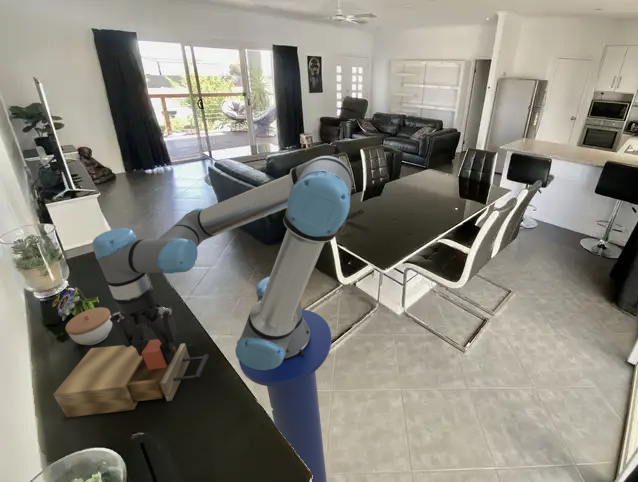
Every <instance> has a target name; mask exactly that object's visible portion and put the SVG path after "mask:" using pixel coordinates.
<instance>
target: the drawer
mask: <svg viewBox="0 0 638 482" xmlns="http://www.w3.org/2000/svg"><path fill="white" fill-rule="evenodd" d="M172 352H173V355H174V356H173V358H172V360H171V362H170V364H169V365H166V367H165V368H159V369H149V370H148V368H147V367H146V365H145V363H144V360H142V362H141V363H140V365H139V366H138V368H137V370H136V371H135V373H134V374H133V376H132V378H131V379H130V381H129V383H128V384H127V389H128V391H129V393H130V395H131V397H132V400H133V402H135V401H139V402H143V401H144V402H145V401H151V400H160V399H163V398H165V400H166V402H170V401H173V399H174V396H175V395H176V392H177V390H178V388H179V386H180V384H181V382H182V381H186V380H195V381H199V380H200V379H201V377H202V374H203V372H204V370H205V368H206V365H207V363H208V360H209V358H210V356H209V354H203V356H195V357H194V356H193V357H190V355H189V351H188V349H187V345H186V343H184V342H183V343H180V344H179V346H178V348H177V349H176V346H174V348H173V350H172ZM191 361H192V362H194V361H200V363H199V364H198V367H197V370H196V371H195V374H194V375H186V376H185V373H186V371H187V369H188V367H189V364H190V362H191Z"/></svg>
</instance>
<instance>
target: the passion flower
mask: <svg viewBox="0 0 638 482" xmlns="http://www.w3.org/2000/svg"><path fill="white" fill-rule="evenodd" d="M61 296H62V298H60V294H58V295H57V296H56V298H55V299H54V300H53V302H52V305H51V308H52V309H53V308H55V307H56V306H57V307H56V310H57V311H58V312H57V316H59V317H62V319H61V320H62V322H65V321H66V320H67V319H68V317H69V316H70V315H72V316H74V317H75V316H76V315H78V314H80V313H82V312H84V311H87V310H89V309H93V308H95V305H94V303H97V304H100V299H99V296H93V297H91V298H86V297H85V295H84V294H83V292H82V291H81V289H80V288H78V287H74V289H70V290H67V291H66V292H65V293H64V294H62V295H61ZM77 304H78V305H77Z"/></svg>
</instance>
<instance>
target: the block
mask: <svg viewBox="0 0 638 482" xmlns="http://www.w3.org/2000/svg"><path fill="white" fill-rule="evenodd" d="M160 345H161V342H160V341H159V339H158V338H157V339H150V340H149V341H148V344H147V345H146V347H145V348H144V350H143V351H142V356H143V358H144V361H145V363H146V366H147V368H148V370H149V369H159V368H165V367H166V363H165V360H164V357H163V354H162V352H161V349H160Z"/></svg>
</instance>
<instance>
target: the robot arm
mask: <svg viewBox="0 0 638 482" xmlns="http://www.w3.org/2000/svg"><path fill="white" fill-rule="evenodd" d="M352 188H353V175H352V172H351V170H350V168H349V166H347V164H346V163H345V161H343V160H341V159H339V158H338V157H336V156H332V155H321V156H318V157H315V158H312V159H310V160H308V161H306V162H304V163H301V164H300V165H297V166H295V167H292V168H291V169H290V171H289V174H286V175H284V176H281V177H279V178H276V179H274V180H272V181H269V182H267V183H264V184H261V185H259V186H257V187H255V188H252V189H249V190H247V191H244V192H242V193H240V194H237V195H235V196H232V197H229V198H228V199H225V200H222V201H221V202H220V201H219V202H218V203H214V204H213V205H210V206H208V207H205V208H203V207H202V208H197V207H196V208H195V209H192V210H191V211H189V212H187V213H185V214H184V215H183V217H182V218H180V219H179V220H178V221H177V222H176V223H175V224H174V225H173V226H171V227H170V228H169V229H168V230H167V231H165V232H164V233H163V234H162V235H161V236H159V237H158V238H146V239H145V238H138V239H137V235H136V234H135V232H134V231H133V230H132V229H130V228H128V227H119V228H114V229H109V230H107V231H104V232H102V233H100V234H98V235H97V236H96V237H95V238H93V240H92V248H93V251H94V255H95V259H96V260H97V262H98V265H99V266H100V269H101V271H102V273H103V276H104V277H105V280H106V284H107V285H108V289H109V290H110V293H111V297H112V298H113V299H114V302H115V305H116V307H117V310H116V311H115V312H114V313H112V314H111V318H110V321H111V322H112V325H114V327H115V328H116V330H117V332H118V334H119V336H120V340H121V341H122V343H123V345H125V347H130V346H133V347H134V348H136V350H137V353H138V355H139V356H142V351H143V350H144V348H145V347H146V345H147V344H148V342H149V341H148V340H147V339H146V337H145V336H144V328H143V324H145V325H146V326H147V328H150V329H151V331H152V332H153V333H154V335H155V336H156V338H157V339H159V341H160V342H161V345H160V349H161V352H162V354H163V357H164V360H165V363H166V365H169V364H170V362H171V360H172V358H173V356H174V355H173V352H172V350H173V348H174V347H175V346H174V344H173V343H174V342H175V341H176V339H177V337H178V335H179V332H178V330H177V326H176V323H175V319H174V316H173V310H174V307H173V306H172V305H168V306H167V307H163V306H161V304H160V303H158V301H157V295H156V292H155V289H154V287H153V284H152V281H151V277H150V275H149V274H175V273H186V272H189V271H191V270H192V269H193V268H194V266H195V265H196V261H197V259H198V253H199V252H198V247H199V246H200V245H201V243H203V242H204V241H206V240H209V239H210V238H213V237H215V236H216V237H217V236H218V235H220V234H223V233H225V232H228V231H231V230H234V229H236V228H238V227H241V226H244V225H246V224H249V223H251V222H255V221H257V220H259V219H262V218H265V217H268V216H269V215H273V214H275V213H277V212H280V211H283V210H285V209H286V210H285V213H284V216H283V224H284V226H285V228H286V231H285V234H284V236H283V240H282V242H281V245H280V248H279V251H278V254H277V256H276V259H275V261H274V264H273V267H272V270H271V273H270V275H269V276H267V277H265V278H263V279H262V280H260V281H259V282H258V283H257V285H256V291H255V293H256V296H257V301H256V302H255V303H254V304H253V306H252V307H251V309H250V311H249V314H248V316H247V320H246V323H245V325H244V328H243V331H242V333H241V335H240V338H239V339H238V340H237V341H236V347H235V356H236V358H237V360H238V361H239V360H240V361H241V362H242V363H243V364H244V365H246V366H248V367H250V368H253V369H257V370H268V369H274V368H276V367H278V366H279V365H280V364H281V363H282V361H286V360H290V359H293V358H295V357H297V356H298V355H300V354H301V355H302V357H303V356H304V355H305V354H304V353H303V352H304V351H305V349H306V348H307V347H308V345H309V343H310V338H311V336H310V329H309V327H308V325H307V323H306V322H305V320H304V318H303V317H302V301H301V299H302V297H303V294H304V292H305V290H306V287H307V285H308V283H309V280H310V278H311V275H312V273H313V271H314V269H315V266H316V264H317V262H318V259H319V257H320V255H321V252H322V250H323V247H324V245H325V244H326V243H329V242H330V241H333V240H334V239H335V238H336V235H337V233H338V231H339V229H340V227H342V225H343V224H344V222H345V221H346V220H347V217H348V215H349V213H350V208H351V195H352ZM160 318H161V319H162V320H161V319H160ZM142 358H143V356H142ZM143 360H144V358H143ZM144 363H145V361H144ZM145 365H146V363H145ZM146 367H147V366H146Z"/></svg>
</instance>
